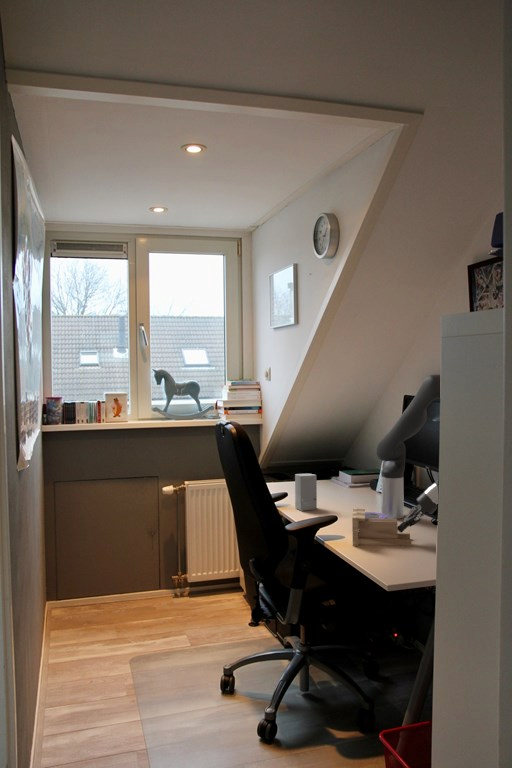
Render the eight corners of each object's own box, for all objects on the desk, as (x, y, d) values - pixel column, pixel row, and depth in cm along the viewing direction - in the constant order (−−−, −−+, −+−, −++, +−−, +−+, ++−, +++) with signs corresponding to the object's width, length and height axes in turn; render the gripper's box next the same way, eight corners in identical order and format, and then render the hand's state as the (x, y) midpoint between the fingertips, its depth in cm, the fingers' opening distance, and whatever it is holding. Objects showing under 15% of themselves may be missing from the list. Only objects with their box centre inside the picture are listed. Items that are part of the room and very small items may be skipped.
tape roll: (389, 525, 257) (389, 513, 257) (382, 533, 246) (382, 520, 246) (361, 522, 262) (361, 510, 262) (353, 529, 252) (352, 517, 251)
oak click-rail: (353, 535, 244) (353, 508, 243) (409, 536, 240) (409, 510, 239) (352, 545, 230) (352, 518, 229) (412, 547, 226) (411, 519, 226)
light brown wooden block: (358, 538, 238) (358, 517, 238) (396, 539, 236) (396, 518, 236) (358, 542, 234) (358, 521, 233) (397, 543, 231) (397, 522, 231)
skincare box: (301, 511, 282) (300, 476, 281) (294, 508, 288) (293, 473, 288) (318, 509, 285) (317, 474, 284) (310, 506, 292) (310, 472, 291)
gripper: (423, 487, 238) (390, 518, 240) (426, 494, 225) (392, 528, 227) (438, 501, 237) (405, 532, 240) (442, 509, 224) (407, 543, 227)
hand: (398, 530), depth 234 cm, fingers closed
